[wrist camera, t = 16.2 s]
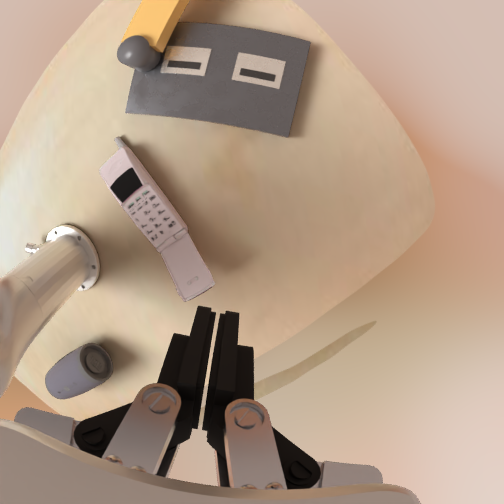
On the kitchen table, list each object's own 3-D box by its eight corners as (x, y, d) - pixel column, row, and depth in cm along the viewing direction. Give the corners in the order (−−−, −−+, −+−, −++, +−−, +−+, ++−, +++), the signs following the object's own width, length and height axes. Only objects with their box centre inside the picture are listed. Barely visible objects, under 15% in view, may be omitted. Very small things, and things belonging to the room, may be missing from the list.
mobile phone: (185, 304, 38) (76, 164, 30) (192, 283, 44) (97, 159, 35) (218, 284, 37) (105, 133, 28) (222, 265, 42) (124, 132, 34)
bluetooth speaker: (79, 382, 57) (65, 408, 48) (54, 359, 54) (37, 384, 45) (122, 359, 51) (106, 393, 42) (91, 329, 48) (70, 361, 39)
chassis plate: (131, 113, 32) (124, 112, 30) (153, 26, 27) (147, 21, 25) (286, 137, 34) (288, 137, 32) (307, 46, 29) (311, 41, 27)
